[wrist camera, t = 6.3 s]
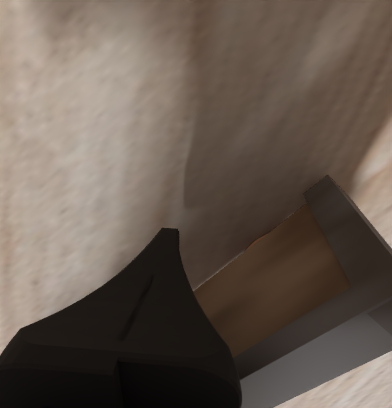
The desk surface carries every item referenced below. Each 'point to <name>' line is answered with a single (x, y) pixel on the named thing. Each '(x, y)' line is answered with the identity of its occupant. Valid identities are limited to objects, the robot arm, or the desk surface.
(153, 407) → the robot arm
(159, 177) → the desk surface
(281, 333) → the gate leaf
